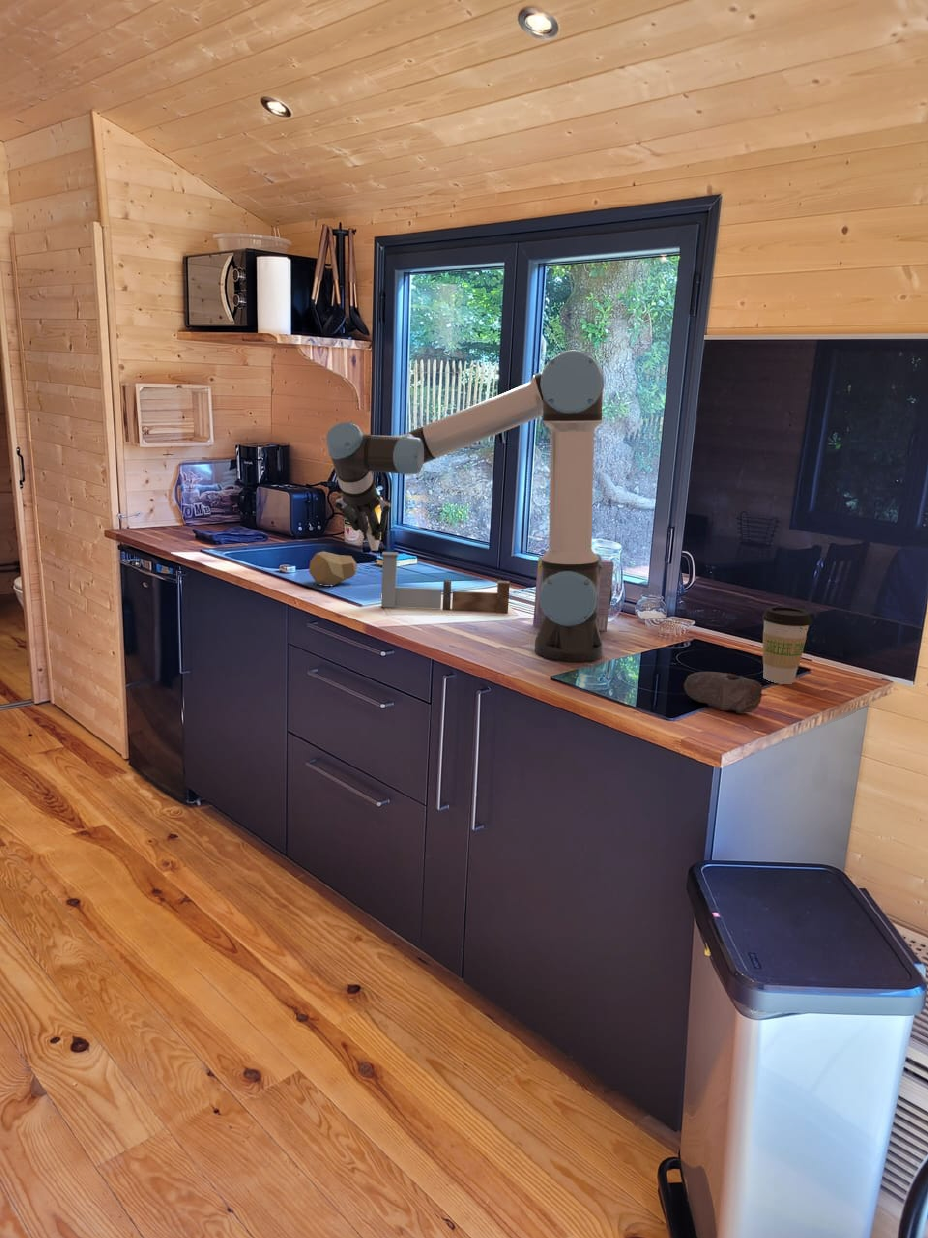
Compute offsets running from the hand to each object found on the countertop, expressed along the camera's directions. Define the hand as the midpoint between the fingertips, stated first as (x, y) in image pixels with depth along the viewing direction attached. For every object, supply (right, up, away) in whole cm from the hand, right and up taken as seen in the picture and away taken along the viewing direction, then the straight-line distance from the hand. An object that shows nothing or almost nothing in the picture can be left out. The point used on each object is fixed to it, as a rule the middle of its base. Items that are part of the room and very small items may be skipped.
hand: (375, 545), depth 220 cm
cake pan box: (+48, -20, +9) cm, 53 cm away
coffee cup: (+88, -31, -26) cm, 96 cm away
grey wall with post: (+7, -14, +19) cm, 25 cm away
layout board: (+16, -14, +26) cm, 33 cm away
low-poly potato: (-17, -8, +45) cm, 49 cm away
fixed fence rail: (+24, -15, +20) cm, 35 cm away
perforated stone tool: (+70, -35, -45) cm, 90 cm away
